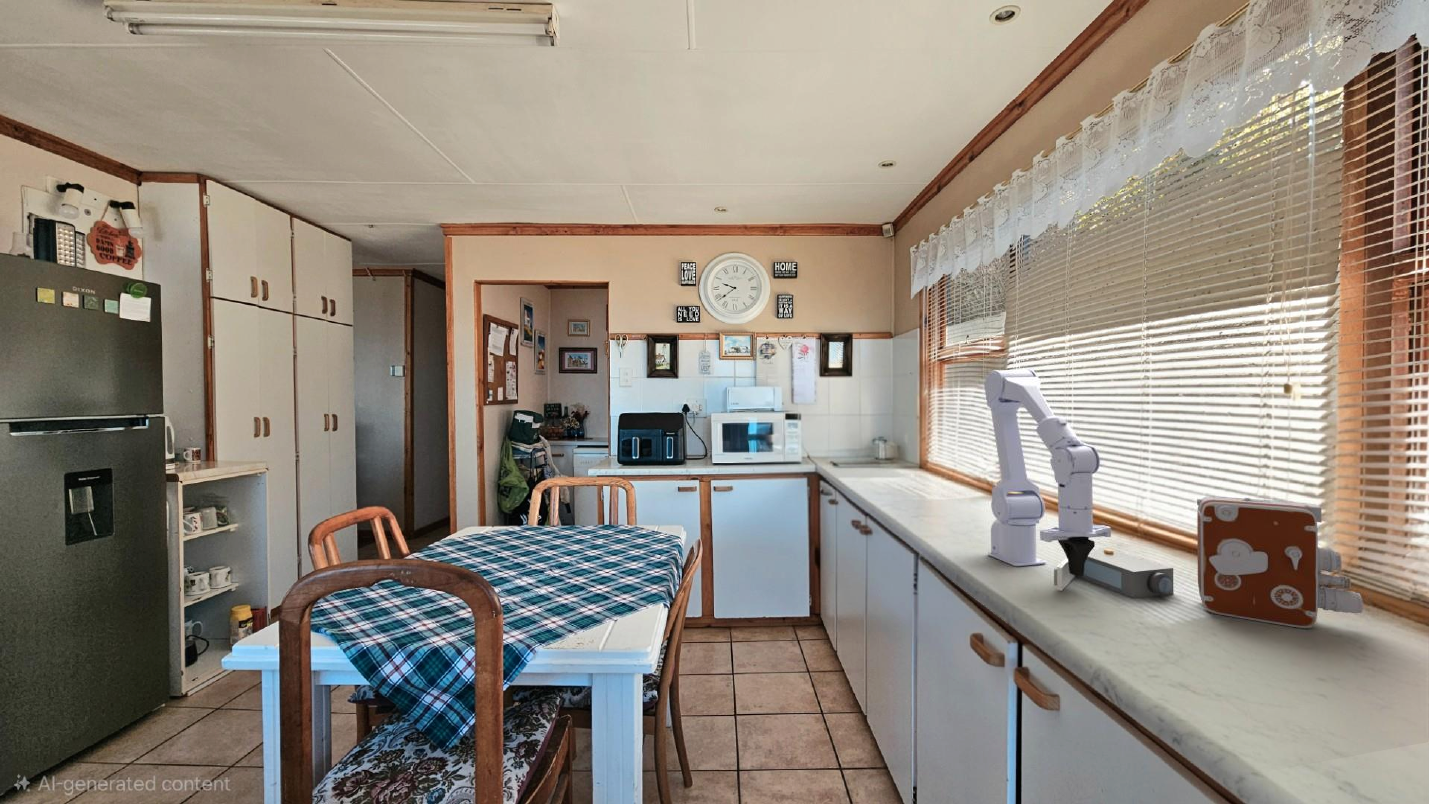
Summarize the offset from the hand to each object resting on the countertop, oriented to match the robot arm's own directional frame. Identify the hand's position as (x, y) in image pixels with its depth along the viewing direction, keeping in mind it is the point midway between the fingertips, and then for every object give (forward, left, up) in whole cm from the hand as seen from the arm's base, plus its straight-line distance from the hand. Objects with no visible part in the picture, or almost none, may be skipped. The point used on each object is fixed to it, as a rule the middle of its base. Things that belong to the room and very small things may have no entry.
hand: (1076, 575), depth 109 cm
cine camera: (+20, +20, -3) cm, 28 cm away
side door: (-3, 0, -2) cm, 4 cm away
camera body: (0, +10, -3) cm, 11 cm away
